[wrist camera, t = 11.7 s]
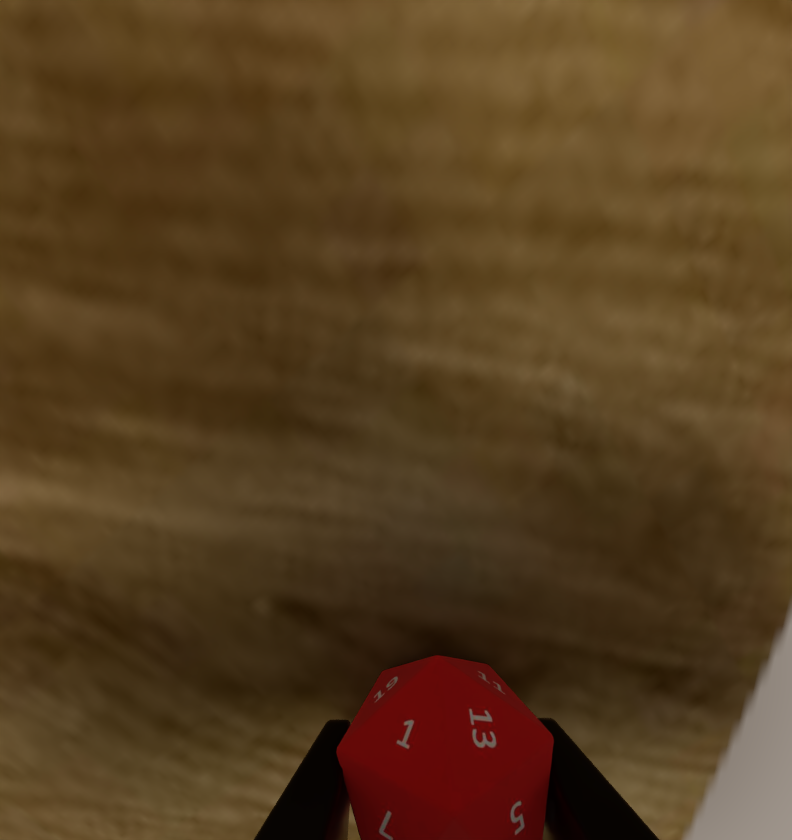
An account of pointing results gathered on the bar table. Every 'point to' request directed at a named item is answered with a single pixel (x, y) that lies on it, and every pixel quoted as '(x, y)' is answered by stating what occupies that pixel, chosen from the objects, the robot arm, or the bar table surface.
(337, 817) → the robot arm
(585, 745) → the bar table surface
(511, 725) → the die
